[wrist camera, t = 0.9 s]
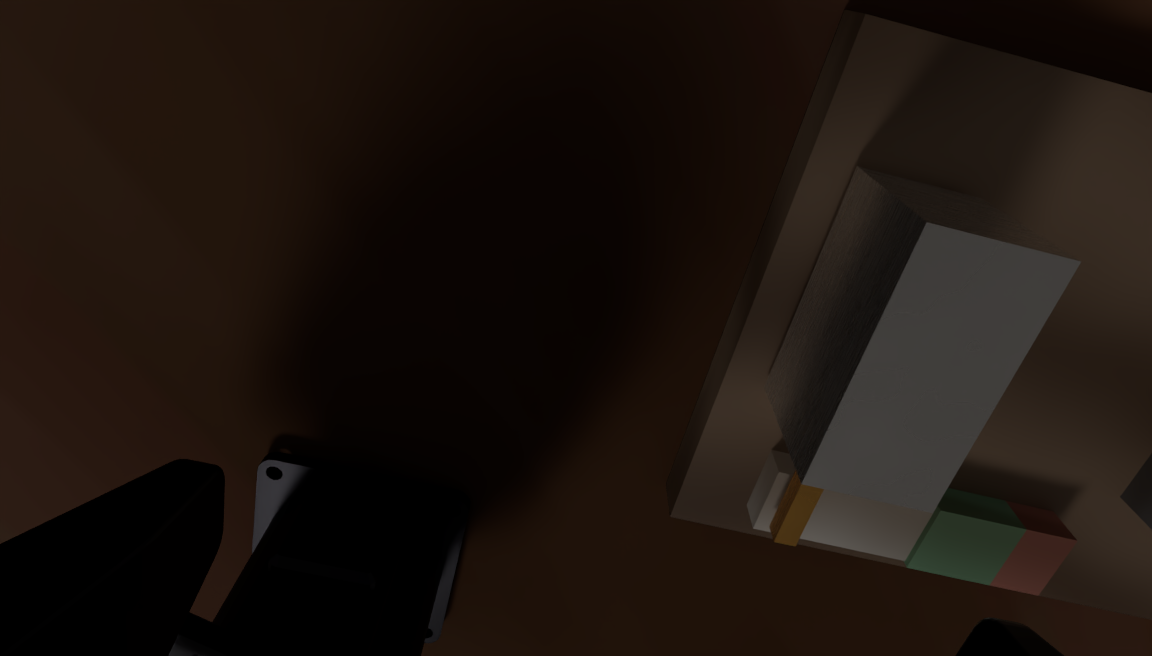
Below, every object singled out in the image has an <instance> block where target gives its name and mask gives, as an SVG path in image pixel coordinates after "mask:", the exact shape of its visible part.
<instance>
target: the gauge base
mask: <svg viewBox="0 0 1152 656" xmlns="http://www.w3.org/2000/svg"><path fill="white" fill-rule="evenodd" d="M857 166H859V167H863V168H867V169H871V170H874V171H878V172H882V173H886V174H890V175H894V176H898V177H901V178H905V179H909V180H913V181H917V182H921V183H925V184H928V185H932V186H936V187H940V188H944V189H948V190H951V191H955V192H959V193H963V194H967V195H971V196H975V197H978V198H981V199H983V200H984V201H986V202H987V203H989V204H991V205H992V206H994V207H995V208H997V209H999V210H1000V211H1002V212H1003V213H1005V214H1006V215H1008V216H1010V217H1011V218H1013V219H1014V220H1016V221H1018V222H1019V223H1021V224H1022V225H1024V226H1026V227H1027V228H1029V229H1030V230H1032V231H1033V232H1035V233H1037V234H1038V235H1040V236H1041V237H1043V238H1045V239H1046V240H1048V241H1049V242H1051V243H1053V244H1054V245H1056V246H1057V247H1059V248H1060V249H1062V250H1064V251H1065V252H1067V253H1068V254H1070V255H1072V256H1073V257H1075V258H1076V259H1078V260H1080V261H1081V263H1080V265H1079V266H1078V268H1077V270H1076V272H1075V273H1074V275H1073V277H1072V278H1071V280H1070V282H1069V283H1068V285H1067V287H1066V288H1065V290H1064V292H1063V294H1062V295H1061V297H1060V299H1059V300H1058V302H1057V304H1056V305H1055V307H1054V309H1053V310H1052V312H1051V314H1050V316H1049V317H1048V319H1047V321H1046V322H1045V324H1044V326H1043V327H1042V329H1041V331H1040V332H1039V334H1038V336H1037V338H1036V339H1035V341H1034V343H1033V344H1032V346H1031V348H1030V349H1029V351H1028V353H1027V354H1026V356H1025V358H1024V360H1023V361H1022V363H1021V365H1020V366H1019V368H1018V370H1017V371H1016V373H1015V375H1014V376H1013V378H1012V380H1011V382H1010V383H1009V385H1008V387H1007V388H1006V390H1005V392H1004V393H1003V395H1002V397H1001V398H1000V400H999V402H998V404H997V405H996V407H995V409H994V410H993V412H992V414H991V415H990V417H989V419H988V421H987V422H986V424H985V426H984V427H983V429H982V431H981V432H980V434H979V436H978V437H977V439H976V441H975V443H974V444H973V446H972V448H971V449H970V451H969V453H968V454H967V456H966V458H965V459H964V461H963V463H962V465H961V466H960V468H959V470H958V471H957V473H956V475H955V476H954V478H953V480H952V481H951V483H950V485H949V487H948V488H947V490H946V492H945V493H944V495H943V497H942V498H941V500H940V502H939V503H938V505H937V507H936V509H935V510H934V512H933V513H929V512H925V511H920V510H916V509H911V508H907V507H902V506H898V505H893V504H889V503H884V502H880V501H875V500H871V499H866V498H862V497H857V496H853V495H848V494H843V493H839V492H834V491H830V490H825V489H824V490H823V492H822V494H821V496H820V498H819V500H818V502H817V504H816V506H815V508H814V510H813V512H812V514H811V516H810V518H809V520H808V522H807V524H806V526H805V528H804V530H803V532H802V534H801V536H800V539H799V541H798V543H797V544H800V545H805V546H809V547H814V548H819V549H823V550H828V551H833V552H837V553H842V554H847V555H851V556H856V557H861V558H865V559H870V560H875V561H879V562H884V563H889V564H893V565H898V566H903V567H907V568H911V569H916V570H921V571H925V572H930V573H935V574H939V575H944V576H949V577H953V578H958V579H963V580H967V581H972V582H977V583H981V584H986V585H991V586H995V587H1000V588H1005V589H1009V590H1014V591H1019V592H1023V593H1028V594H1033V595H1037V596H1043V597H1047V598H1052V599H1057V600H1061V601H1066V602H1071V603H1075V604H1080V605H1085V606H1090V607H1094V608H1099V609H1104V610H1108V611H1113V612H1118V613H1122V614H1127V615H1132V616H1136V617H1141V618H1146V619H1150V620H1152V93H1149V92H1146V91H1142V90H1138V89H1135V88H1131V87H1128V86H1124V85H1120V84H1117V83H1113V82H1110V81H1106V80H1102V79H1099V78H1095V77H1092V76H1088V75H1084V74H1081V73H1077V72H1074V71H1070V70H1066V69H1063V68H1059V67H1056V66H1052V65H1048V64H1045V63H1041V62H1038V61H1034V60H1030V59H1027V58H1023V57H1020V56H1016V55H1012V54H1009V53H1005V52H1001V51H998V50H994V49H991V48H987V47H983V46H980V45H976V44H973V43H969V42H965V41H962V40H958V39H955V38H951V37H947V36H944V35H940V34H937V33H933V32H929V31H926V30H922V29H919V28H915V27H911V26H908V25H904V24H901V23H897V22H893V21H890V20H886V19H883V18H879V17H875V16H872V15H868V14H864V13H859V12H855V11H850V10H844V12H843V15H842V17H841V20H840V23H839V25H838V28H837V31H836V33H835V36H834V39H833V41H832V44H831V47H830V49H829V52H828V55H827V57H826V60H825V63H824V65H823V68H822V71H821V73H820V76H819V79H818V81H817V84H816V87H815V89H814V92H813V95H812V97H811V100H810V103H809V105H808V108H807V111H806V113H805V116H804V119H803V121H802V124H801V127H800V129H799V132H798V134H797V137H796V140H795V142H794V145H793V148H792V150H791V153H790V156H789V158H788V161H787V164H786V166H785V169H784V172H783V174H782V177H781V180H780V182H779V185H778V188H777V190H776V193H775V196H774V198H773V201H772V204H771V206H770V209H769V212H768V214H767V217H766V220H765V222H764V225H763V228H762V230H761V233H760V236H759V238H758V241H757V244H756V246H755V249H754V251H753V254H752V257H751V259H750V262H749V265H748V267H747V270H746V273H745V275H744V278H743V281H742V283H741V286H740V289H739V291H738V294H737V297H736V299H735V302H734V305H733V307H732V310H731V313H730V315H729V318H728V321H727V323H726V326H725V329H724V331H723V334H722V337H721V339H720V342H719V345H718V347H717V350H716V353H715V355H714V358H713V360H712V363H711V366H710V368H709V371H708V374H707V376H706V379H705V382H704V384H703V387H702V390H701V392H700V395H699V398H698V400H697V403H696V406H695V408H694V411H693V414H692V416H691V419H690V422H689V424H688V427H687V430H686V432H685V435H684V438H683V440H682V443H681V446H680V448H679V451H678V454H677V456H676V459H675V462H674V464H673V467H672V470H671V472H670V475H669V477H668V480H667V483H666V489H667V497H668V505H669V513H670V517H674V518H678V519H683V520H688V521H692V522H697V523H702V524H706V525H711V526H716V527H720V528H725V529H730V530H734V531H739V532H744V533H748V534H753V535H758V536H762V537H767V538H772V539H773V537H772V534H771V531H770V527H769V526H770V523H771V521H772V519H773V517H774V515H775V513H776V511H777V509H778V506H779V504H780V502H781V500H782V498H783V496H784V494H785V492H786V489H787V487H788V485H789V483H790V481H791V479H792V477H793V474H794V472H795V470H796V469H795V466H794V464H793V461H792V458H791V456H790V453H789V451H788V448H787V445H786V443H785V440H784V438H783V435H782V432H781V430H780V427H779V425H778V422H777V419H776V417H775V414H774V412H773V409H772V406H771V404H770V401H769V399H768V396H767V393H766V391H765V388H764V387H765V384H766V382H767V379H768V377H769V375H770V372H771V370H772V367H773V365H774V363H775V360H776V358H777V356H778V353H779V351H780V348H781V346H782V344H783V341H784V339H785V337H786V334H787V332H788V329H789V327H790V325H791V322H792V320H793V317H794V315H795V313H796V310H797V308H798V306H799V303H800V301H801V298H802V296H803V294H804V291H805V289H806V286H807V284H808V282H809V279H810V277H811V275H812V272H813V270H814V267H815V265H816V263H817V260H818V258H819V255H820V253H821V251H822V248H823V246H824V244H825V241H826V239H827V236H828V234H829V232H830V229H831V227H832V224H833V222H834V220H835V217H836V215H837V213H838V210H839V208H840V205H841V203H842V201H843V198H844V196H845V194H846V191H847V189H848V186H849V184H850V182H851V179H852V177H853V174H854V172H855V170H856V167H857Z"/></svg>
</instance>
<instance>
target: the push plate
mask: <svg viewBox="0 0 1152 656" xmlns="http://www.w3.org/2000/svg"><path fill="white" fill-rule="evenodd" d="M1080 263H1081V261H1080V260H1078V259H1076V258H1075V257H1073V256H1072V255H1070V254H1068V253H1067V252H1065V251H1064V250H1062V249H1060V248H1059V247H1057V246H1056V245H1054V244H1053V243H1051V242H1049V241H1048V240H1046V239H1045V238H1043V237H1041V236H1040V235H1038V234H1037V233H1035V232H1033V231H1032V230H1030V229H1029V228H1027V227H1026V226H1024V225H1022V224H1021V223H1019V222H1018V221H1016V220H1014V219H1013V218H1011V217H1010V216H1008V215H1006V214H1005V213H1003V212H1002V211H1000V210H999V209H997V208H995V207H994V206H992V205H991V204H989V203H987V202H986V201H984V200H983V199H981V198H978V197H975V196H971V195H967V194H963V193H959V192H955V191H951V190H948V189H944V188H940V187H936V186H932V185H928V184H925V183H921V182H917V181H913V180H909V179H905V178H901V177H898V176H894V175H890V174H886V173H882V172H878V171H874V170H871V169H867V168H863V167H859V166H857V167H856V170H855V172H854V174H853V177H852V179H851V182H850V184H849V186H848V189H847V191H846V194H845V196H844V198H843V201H842V203H841V205H840V208H839V210H838V213H837V215H836V217H835V220H834V222H833V224H832V227H831V229H830V232H829V234H828V236H827V239H826V241H825V244H824V246H823V248H822V251H821V253H820V255H819V258H818V260H817V263H816V265H815V267H814V270H813V272H812V275H811V277H810V279H809V282H808V284H807V286H806V289H805V291H804V294H803V296H802V298H801V301H800V303H799V306H798V308H797V310H796V313H795V315H794V317H793V320H792V322H791V325H790V327H789V329H788V332H787V334H786V337H785V339H784V341H783V344H782V346H781V348H780V351H779V353H778V356H777V358H776V360H775V363H774V365H773V367H772V370H771V372H770V375H769V377H768V379H767V382H766V384H765V387H764V388H765V391H766V393H767V396H768V399H769V401H770V404H771V406H772V409H773V412H774V414H775V417H776V419H777V422H778V425H779V427H780V430H781V432H782V435H783V438H784V440H785V443H786V445H787V448H788V451H789V453H790V456H791V458H792V461H793V464H794V466H795V469H796V470H795V472H794V474H793V477H792V479H791V481H790V483H789V485H788V487H787V489H786V492H785V494H784V496H783V498H782V500H781V502H780V504H779V506H778V509H777V511H776V513H775V515H774V517H773V519H772V521H771V523H770V526H769V527H770V531H771V534H772V537H773V541H774V542H777V543H782V544H786V545H791V546H796V545H797V543H798V541H799V539H800V536H801V534H802V532H803V530H804V528H805V526H806V524H807V522H808V520H809V518H810V516H811V514H812V512H813V510H814V508H815V506H816V504H817V502H818V500H819V498H820V496H821V494H822V492H823V490H824V489H825V490H830V491H834V492H839V493H843V494H848V495H853V496H857V497H862V498H866V499H871V500H875V501H880V502H884V503H889V504H893V505H898V506H902V507H907V508H911V509H916V510H920V511H925V512H929V513H933V512H934V510H935V509H936V507H937V505H938V503H939V502H940V500H941V498H942V497H943V495H944V493H945V492H946V490H947V488H948V487H949V485H950V483H951V481H952V480H953V478H954V476H955V475H956V473H957V471H958V470H959V468H960V466H961V465H962V463H963V461H964V459H965V458H966V456H967V454H968V453H969V451H970V449H971V448H972V446H973V444H974V443H975V441H976V439H977V437H978V436H979V434H980V432H981V431H982V429H983V427H984V426H985V424H986V422H987V421H988V419H989V417H990V415H991V414H992V412H993V410H994V409H995V407H996V405H997V404H998V402H999V400H1000V398H1001V397H1002V395H1003V393H1004V392H1005V390H1006V388H1007V387H1008V385H1009V383H1010V382H1011V380H1012V378H1013V376H1014V375H1015V373H1016V371H1017V370H1018V368H1019V366H1020V365H1021V363H1022V361H1023V360H1024V358H1025V356H1026V354H1027V353H1028V351H1029V349H1030V348H1031V346H1032V344H1033V343H1034V341H1035V339H1036V338H1037V336H1038V334H1039V332H1040V331H1041V329H1042V327H1043V326H1044V324H1045V322H1046V321H1047V319H1048V317H1049V316H1050V314H1051V312H1052V310H1053V309H1054V307H1055V305H1056V304H1057V302H1058V300H1059V299H1060V297H1061V295H1062V294H1063V292H1064V290H1065V288H1066V287H1067V285H1068V283H1069V282H1070V280H1071V278H1072V277H1073V275H1074V273H1075V272H1076V270H1077V268H1078V266H1079V265H1080Z"/></svg>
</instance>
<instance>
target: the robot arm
mask: <svg viewBox="0 0 1152 656" xmlns="http://www.w3.org/2000/svg"><path fill="white" fill-rule="evenodd" d="M272 467H277V468H279V469H280V470H281V471H282V472H278V471H275V470H274V469H273V468H272ZM224 490H225V477H224V473H223V470H222V469H221V468H220V467H219V466H217V465H214V464H209V463H204V462H199V461H194V460H189V459H178V460H174V461H172V462H170V463H168V464H165V465H163V466H161V467H159V468H157V469H155V470H153V471H151V472H149V473H147V474H145V475H143V476H141V477H138V478H136V479H134V480H132V481H130V482H128V483H126V484H124V485H122V486H120V487H118V488H116V489H114V490H111V491H109V492H107V493H105V494H103V495H101V496H99V497H97V498H95V499H93V500H91V501H89V502H86V503H84V504H82V505H80V506H78V507H76V508H74V509H72V510H70V511H68V512H66V513H64V514H62V515H59V516H57V517H55V518H53V519H51V520H49V521H47V522H45V523H43V524H41V525H39V526H37V527H35V528H32V529H30V530H28V531H26V532H24V533H22V534H20V535H18V536H16V537H14V538H12V539H10V540H8V541H5V542H3V543H1V544H0V656H421V653H422V649H423V645H424V643H432V642H435V641H436V640H438V639H439V637H440V634H441V630H442V625H443V621H444V617H445V613H446V608H447V604H448V600H449V595H450V591H451V587H452V582H453V578H454V574H455V569H456V565H457V561H458V556H459V552H460V548H461V544H462V539H463V535H464V531H465V526H466V522H467V518H468V513H469V509H470V499H469V497H468V496H467V495H466V494H465V493H464V492H461V491H459V490H455V489H450V488H446V487H441V486H436V485H431V484H427V483H422V482H417V481H413V480H408V479H403V478H398V477H394V476H389V475H384V474H380V473H375V472H370V471H365V470H361V469H356V468H351V467H347V466H342V465H337V464H332V463H328V462H323V461H318V460H314V459H309V458H304V457H299V456H295V455H290V454H285V453H281V452H273V453H269V454H268V455H267V456H265V457H264V459H263V460H262V462H261V463H260V465H259V468H258V473H257V488H256V503H255V518H254V533H253V548H252V555H251V557H250V558H249V560H248V562H247V564H246V565H245V567H244V569H243V570H242V572H241V574H240V576H239V577H238V579H237V581H236V582H235V584H234V586H233V588H232V589H231V591H230V593H229V594H228V596H227V598H226V600H225V601H224V603H223V605H222V606H221V608H220V610H219V612H218V613H217V615H216V617H215V618H214V620H213V622H210V621H208V620H206V619H203V618H201V617H199V616H197V615H194V614H192V613H190V612H189V611H190V609H191V607H192V605H193V603H194V601H195V599H196V596H197V594H198V592H199V590H200V588H201V586H202V584H203V582H204V580H205V578H206V575H207V573H208V571H209V569H210V567H211V565H212V563H213V561H214V559H215V556H216V554H217V552H218V549H219V546H220V543H221V539H222V534H223V522H224ZM449 504H454V505H457V506H458V507H459V508H458V509H453V508H451V507H449V506H448V505H449ZM428 628H429V629H428ZM956 656H1064V655H1063V654H1061V653H1060V652H1059V651H1058V650H1056V649H1055V648H1054V647H1053V646H1051V645H1050V644H1049V643H1048V642H1046V641H1045V640H1044V639H1043V638H1042V637H1040V636H1039V635H1038V634H1037V633H1035V632H1034V631H1033V630H1032V629H1030V628H1029V627H1027V626H1025V625H1023V624H1020V623H1017V622H1012V621H1007V620H1002V619H997V618H984V619H983V620H981V621H979V622H978V623H977V624H976V625H975V627H974V628H973V630H972V631H971V633H970V634H969V636H968V637H967V639H966V640H965V642H964V643H963V645H962V647H961V648H960V650H959V651H958V653H957V654H956Z"/></svg>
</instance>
